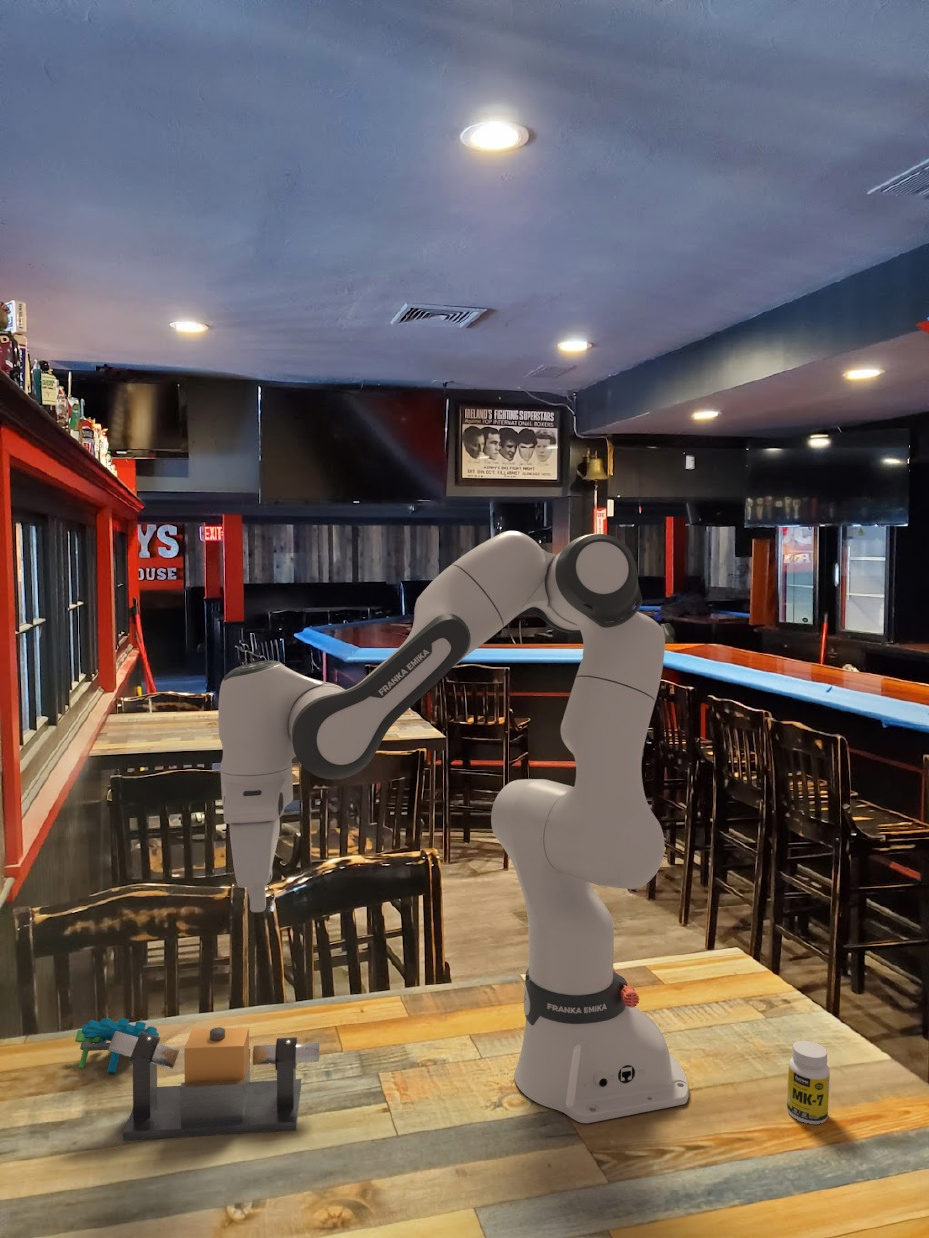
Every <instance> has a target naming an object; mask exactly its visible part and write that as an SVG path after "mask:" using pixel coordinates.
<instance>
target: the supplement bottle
mask: <svg viewBox="0 0 929 1238" xmlns="http://www.w3.org/2000/svg"><path fill="white" fill-rule="evenodd" d="M787 1071H788V1075H787V1077H788V1078H787V1098H786V1109H787V1112H788V1114H790V1115H789V1116H791V1117H792V1118H793V1119H795V1120H796V1119H797V1120H796V1121H799V1122H801V1123H803V1122H804V1123H803V1124H807V1123H809V1124H808V1125H821V1124H824V1123H825V1122H826V1121H827V1119H828V1115H829V1098H830V1097H829V1096H830V1092H829V1091H830V1075H831V1073H830V1071H831V1070H830V1067H829V1066H828V1052H827V1050H826V1048H825V1047H824V1046H822V1045H821V1044H819V1043H817V1042H813V1041H809V1040H799V1041H795V1042H794V1043H793V1045H792V1057H791V1058H790V1060H789V1062H788V1070H787ZM820 1123H821V1124H820Z"/></svg>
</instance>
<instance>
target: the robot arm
mask: <svg viewBox="0 0 929 1238" xmlns="http://www.w3.org/2000/svg"><path fill="white" fill-rule="evenodd" d="M638 577H639V576H638V569H637V564H636V561H635V557H634V556H633V554H632V552H631V550H630V549H629V547H628V546H627V545H626V544H625V543H624V542H623V541H621V540H620V539H618V538H617V537H615V536H612V535H609V534H606V533H590V534H584V535H583V536H582V535H581V536H579V537H577V538H575V539H573V540H572V541H570V542H569V543H568V544H566V545H565V547H564V548H563V549H562V550H561V551H560V552H559V553H557V554H556V553H551V552H548V551H546V550H545V549H542V547H541V546H540V545H539V543H537V541H535V540H534V539H533V538H532V537H530V536H529V535H527V534H525V533H523V532H521V531H517V530H507V531H506V530H505V531H503V532H501V533H499V534H497V535H495V536H493V537H491V538H489V539H487V540H486V541H484V542H482V543H480V544H478V545H477V546H475V547H474V548H472V549H471V550H470V551H468V552H466V553H464V554H463V555H462V556H461V557H459V558H457V560H455V561H454V562H452V563H451V565H449V566H448V567H446V568H445V569H444V570H443V571H442V572H441V573H439V574H438V575H437V576H436V577H435V578H434V579H433V580H432V581H431V582H430V583H429V585H427V587H426V588H425V589H424V590H423V591H422V592H421V594H420V595H419V596H418V597H417V598H416V602H415V604H414V605H415V606H414V611H413V613H414V615H413V618H414V619H413V624H412V627H411V630H410V633H409V635H408V636H407V638H405V641H404V642H403V643H402V644H401V645H400V646H399V647H397V649H396V650H395V651H394V652H392V653H391V654H390V655H389V656H388V657H387V658H386V659H384V660H383V661H382V662H381V663H380V664H379V665H378V666H376V667H375V668H374V669H373V670H372V671H371V672H370V673H369V674H368V675H366V676H365V678H363V679H361V681H360V682H358V683H357V684H356V685H354V686H352V687H350V688H347V689H345V688H344V687H343V686H340V685H337V684H335V683H332V682H326V681H324V680H319V679H315V678H311V677H308V676H305V675H304V674H301V673H299V672H296V671H295V670H292V669H291V668H289V667H287V666H285V665H284V664H283V663H282V662H280V661H278V660H277V661H276V660H273V659H272V660H270V659H269V660H261V661H255V662H250V663H246V664H243V665H239V666H238V667H235V668H233V669H231V670H230V671H229V672H228V673H227V674H226V675H225V676H224V677H223V679H222V681H221V684H220V686H219V687H220V688H219V693H218V707H217V708H218V710H217V711H218V713H217V714H218V715H217V716H218V720H217V722H218V737H219V740H220V743H221V747H222V759H221V762H220V783H221V784H220V786H221V787H220V788H221V805H222V807H223V822H224V824H229V838H230V847H231V855H232V865H233V868H234V870H233V871H234V878H235V880H236V884H237V886H238V887H239V888H242V889H243V888H246V891H247V893H248V898H249V910H250V911H251V912H252V913H262V912H264V911H265V910H266V907H267V896H266V895H267V893H266V886H267V885H268V884H270V883H271V881H272V880H273V879H272V878H273V864H274V859H275V855H276V850H277V845H278V842H279V837H280V830H281V825H280V824H281V822H280V821H281V820H280V818H281V817H282V816H283V815H284V810H285V808H286V807H287V806H288V805H290V804H291V803H292V802H293V801H294V788H293V787H294V786H293V784H294V783H293V762H292V760H293V759H294V758H296V759H297V761H298V762H299V764H300V765H301V766H302V767H303V769H305V770H306V771H307V772H308V773H310V774H312V775H314V776H316V777H318V778H320V779H325V780H342V779H346V778H350V777H352V776H355V775H356V774H358V773H360V772H361V771H362V770H364V769H365V768H366V767H367V766H368V765H369V764H370V762H371V761H372V759H373V758H374V757H375V755H376V753H377V752H378V749H379V747H380V745H381V743H382V741H383V740H384V738H385V736H386V734H387V732H388V731H389V730H390V729H391V727H392V726H393V725H394V724H395V722H397V720H398V719H400V717H402V715H404V714H405V713H406V712H407V711H408V710H409V709H410V708H411V707H412V706H413V705H414V704H415V703H416V702H418V701H419V700H420V699H421V698H422V697H423V696H424V695H425V694H426V693H428V691H429V690H431V689H432V688H433V687H434V686H435V685H436V684H437V683H438V682H439V681H441V679H442V678H443V677H444V676H445V675H446V674H447V673H448V672H450V670H451V669H452V668H454V667H455V666H456V665H458V664H459V663H460V662H461V661H462V660H463V659H465V658H466V657H467V656H468V655H470V654H471V653H472V652H474V651H475V650H477V649H478V648H480V646H482V645H483V644H484V643H486V642H487V641H489V640H490V639H491V638H492V637H493V636H495V635H496V634H497V633H498V632H500V631H501V630H502V629H503V628H504V627H506V626H507V625H508V624H509V623H510V622H511V621H513V620H514V619H516V617H517V616H519V615H520V614H521V613H523V612H524V611H528V612H530V613H532V614H533V615H535V616H536V617H537V618H538V619H539V618H540V619H541V620H543V621H544V622H545V623H546V624H548V625H549V626H550V627H552V628H554V629H556V630H557V631H561V632H564V633H569V634H579V633H581V636H582V642H583V648H582V649H583V650H582V659H581V661H580V664H579V667H578V670H577V672H576V675H575V679H574V683H573V686H572V688H571V692H570V695H569V698H568V701H567V705H566V708H565V711H564V714H563V719H562V720H561V724H560V737H561V740H562V742H563V743H564V745H565V747H566V748H567V749H568V750H569V752H570V753H571V754H572V755H573V758H574V760H575V761H574V762H575V767H576V768H575V770H576V771H575V782H574V786H572V785H569V784H564V783H560V782H557V781H553V780H549V779H543V778H541V779H540V778H539V779H538V778H537V779H534V778H533V779H532V778H528V779H527V778H524V779H523V778H522V779H516V780H513V781H510V782H508V783H507V784H506V785H505V786H504V787H502V789H500V791H499V793H497V795H496V797H495V800H494V802H493V805H492V808H491V814H490V815H491V818H490V821H491V822H490V823H491V829H492V833H493V835H494V838H496V840H497V842H499V844H500V845H501V846H502V848H503V849H504V851H505V853H506V854H507V856H508V858H509V860H510V861H511V865H513V868H514V871H515V874H516V876H517V879H518V882H519V885H520V889H521V892H522V896H523V899H524V904H525V908H526V914H527V915H526V916H527V922H528V924H527V925H528V926H527V929H528V930H527V931H528V968H527V970H526V972H525V976H524V977H525V979H524V981H525V982H524V984H523V1011H524V1012H523V1013H524V1016H525V1026H524V1033H523V1041H522V1045H521V1050H520V1054H519V1058H518V1061H517V1065H516V1067H515V1071H514V1080H515V1084H516V1087H518V1089H519V1090H520V1092H522V1094H524V1095H525V1096H526V1097H528V1099H530V1100H531V1101H534V1102H535V1103H537V1104H539V1105H541V1106H544V1107H546V1108H549V1109H552V1110H554V1111H555V1110H557V1111H558V1112H561V1113H564V1115H567V1116H568V1117H570V1118H571V1119H572V1120H574V1121H576V1122H579V1123H581V1124H590V1123H591V1124H592V1123H596V1122H601V1121H606V1120H611V1119H616V1118H621V1117H626V1116H632V1115H636V1114H641V1113H647V1112H651V1111H656V1110H662V1109H667V1108H672V1107H675V1106H676V1107H677V1106H682V1105H685V1104H687V1102H688V1100H689V1096H690V1095H689V1094H690V1091H689V1090H690V1089H689V1082H688V1078H687V1076H686V1074H685V1071H684V1069H683V1068H682V1066H681V1064H680V1062H678V1060H677V1059H676V1058H675V1056H674V1055H672V1053H670V1051H669V1047H668V1043H667V1040H666V1039H665V1036H664V1035H663V1033H662V1031H661V1029H660V1028H659V1026H658V1025H657V1024H656V1022H655V1021H654V1020H653V1019H652V1018H650V1016H649V1015H647V1014H646V1013H644V1012H643V1011H642V1010H640V1009H639V1008H637V1007H636V1006H638V1004H639V1002H640V996H639V994H638V993H637V991H636V990H635V989H634V987H632V986H628V982H627V980H626V979H625V978H624V977H623V976H621V975H620V973H619V972H618V971H617V970H616V969H615V968H614V959H615V958H614V957H615V956H614V955H615V953H614V952H615V951H614V949H615V947H614V946H615V925H614V919H613V917H612V914H611V913H610V911H609V909H608V908H607V906H606V905H605V904H604V902H603V901H602V900H601V898H600V897H599V896H598V894H597V893H596V891H595V889H594V888H593V885H592V884H594V885H597V886H599V887H605V888H614V889H623V890H624V889H625V890H638V889H640V888H643V887H644V886H645V885H646V884H648V883H649V882H650V881H651V880H653V878H654V877H655V875H656V874H657V872H658V871H659V870H660V868H661V865H662V863H663V860H664V859H663V858H664V855H665V835H664V832H663V829H662V825H661V824H660V822H659V820H658V819H657V816H655V814H654V812H653V811H652V809H651V807H650V806H649V802H648V801H647V797H646V795H645V790H644V789H645V788H644V784H643V783H644V782H643V774H642V763H643V762H642V760H643V752H644V748H645V742H646V739H647V734H648V730H649V726H650V722H651V718H652V715H653V712H654V708H655V704H656V701H657V698H658V697H657V696H658V693H659V690H660V689H659V688H660V684H661V680H662V679H661V678H662V674H663V668H664V661H665V660H664V659H665V648H666V637H665V633H664V630H663V628H662V627H661V626H660V624H659V623H658V622H657V621H656V620H654V619H653V618H652V617H650V616H649V615H647V614H644V613H642V612H639V610H640V608H641V607H642V603H643V597H642V592H641V589H640V585H639V578H638ZM636 603H637V604H636Z"/></svg>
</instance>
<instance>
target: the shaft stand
mask: <svg viewBox="0 0 929 1238" xmlns="http://www.w3.org/2000/svg"><path fill="white" fill-rule="evenodd" d="M160 1040H161V1036H155V1035H151V1034H148V1033H144V1032H141V1033H140V1035H139V1038H138V1037H135V1036H131V1035H128V1034H125V1033H121V1032H118V1031H116V1032H115V1034H114V1036H113V1038H112V1041H110V1042H111V1043H110V1042H109V1043H110V1046H109V1049H108V1050H107V1052H108V1051H109V1052H111V1053H112V1052H115V1053H119V1054H120V1055H124V1056H126V1057H129V1061H128V1064H130V1065H132V1111H131V1112H130V1115H129V1117H128V1119H127V1122H126V1124H125V1126H124V1129H123V1131H122V1141H135V1140H139V1141H140V1140H150V1139H151V1140H156V1139H168V1138H169V1139H172V1138H173V1139H174V1138H186V1137H202V1136H203V1137H204V1136H218V1135H219V1136H220V1134H222V1135H235V1134H236V1135H237V1134H250V1133H252V1134H253V1133H268V1132H271V1133H272V1132H283V1131H297V1126H298V1117H299V1109H300V1100H301V1093H302V1091H301V1090H302V1078H297V1076H296V1075H297V1074H296V1073H297V1072H296V1071H297V1064H299V1063H302V1064H303V1063H319V1062H320V1046H321V1045H320V1042H319V1041H318V1042H317V1041H316V1042H298V1037H297V1036H293V1037H291V1036H290V1037H278V1038H276V1042H275V1043H276V1044H257V1045H256V1044H255V1045H253V1048H252V1066H261V1065H262V1066H264V1065H267V1066H268V1065H275V1071H276V1080H259V1081H258V1080H257V1081H255V1080H254V1081H251V1077H250V1076H251V1048H249V1068H248V1072H247V1076H246V1080H245V1084H244V1086H243V1079H239V1080H221V1081H202V1082H185V1081H184V1082H181V1083H180V1085H167V1086H166V1085H165V1086H158V1066H161V1067H164V1068H168V1069H171V1070H173V1069H174V1066H175V1064H176V1062H177V1058H178V1055H179V1053H180V1049H179V1048H176V1047H172V1046H169V1045H165V1044H162V1043H160ZM300 1092H301V1093H300ZM216 1134H218V1135H216Z"/></svg>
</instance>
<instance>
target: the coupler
mask: <svg viewBox="0 0 929 1238" xmlns="http://www.w3.org/2000/svg"><path fill="white" fill-rule="evenodd" d="M183 1049H184V1050H183V1051H184V1055H183V1056H184V1082H202V1081H221V1080H239V1079H243V1086H244V1084H245V1080H246V1076H247V1072H248V1068H249V1049H250V1027H248V1026H244V1027H221V1026H220V1027H219V1026H218V1027H213V1028H196V1029H193V1028H191V1031H190V1033H189V1036H188V1038H187V1041H186V1044H185V1046H184V1048H183Z"/></svg>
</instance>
